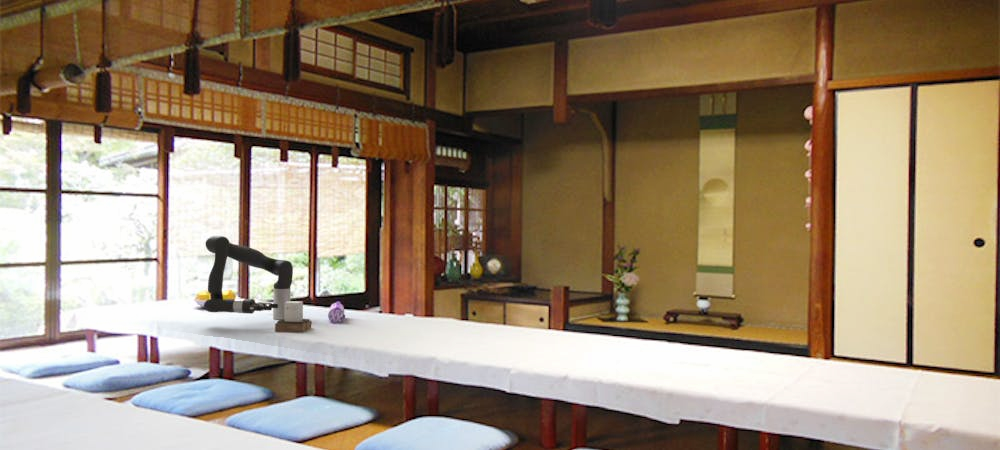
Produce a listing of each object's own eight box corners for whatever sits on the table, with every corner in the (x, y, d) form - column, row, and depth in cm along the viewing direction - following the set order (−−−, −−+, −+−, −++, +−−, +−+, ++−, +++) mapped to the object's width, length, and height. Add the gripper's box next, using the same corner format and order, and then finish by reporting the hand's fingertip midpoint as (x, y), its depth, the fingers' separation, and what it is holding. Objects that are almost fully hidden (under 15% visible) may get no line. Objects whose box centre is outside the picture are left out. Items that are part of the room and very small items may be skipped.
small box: (303, 321, 368) (303, 301, 368) (299, 323, 363) (299, 302, 362) (288, 321, 369) (288, 300, 369) (283, 322, 363) (284, 302, 363)
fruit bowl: (208, 303, 456) (208, 286, 455) (247, 305, 452) (248, 287, 452) (182, 309, 428) (183, 291, 428) (224, 311, 424) (225, 292, 424)
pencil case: (345, 323, 390) (345, 306, 390) (327, 323, 388) (328, 306, 388) (344, 317, 412) (344, 301, 411) (327, 317, 409) (327, 301, 409)
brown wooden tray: (285, 327, 373) (285, 317, 373) (311, 328, 372) (311, 318, 372) (275, 331, 359) (275, 321, 359) (301, 332, 358) (302, 322, 358)
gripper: (238, 300, 360) (269, 301, 359) (250, 297, 374) (280, 298, 373) (238, 315, 360) (269, 316, 359) (249, 311, 374) (279, 312, 373)
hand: (274, 307), depth 366 cm, fingers open, 8 cm apart
